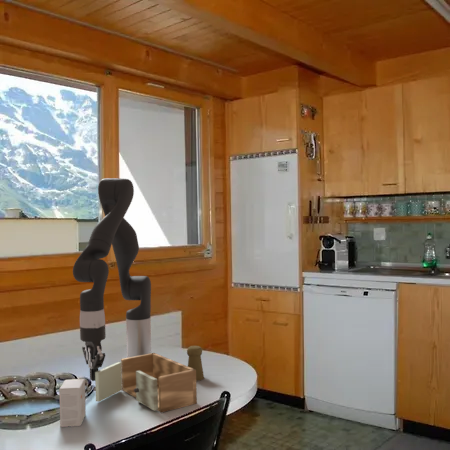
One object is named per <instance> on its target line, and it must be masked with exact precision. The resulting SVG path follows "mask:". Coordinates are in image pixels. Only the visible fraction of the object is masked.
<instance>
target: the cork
mask: <svg viewBox="0 0 450 450" xmlns="http://www.w3.org/2000/svg"><path fill="white" fill-rule="evenodd" d="M186 353H187V356H188V362H187V366H188V367H190V368H193V369H195V370H196V382H199V381H202V380H204V379H205V375H204V367H203V362H202V354H203V348H202V347H201V346H199V345H190V346H189V347H187V350H186Z"/></svg>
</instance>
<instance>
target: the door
mask: <svg viewBox="0 0 450 450" xmlns="http://www.w3.org/2000/svg"><path fill="white" fill-rule="evenodd" d="M94 382H95V385H94V387H93V389H92V390H93V391H94V392H95V402H99V403H100V402H101V401H103V400H106V399H107V398H109V397H110V396H113V395H114V394H117V393H118V392H120V391H123V390H122V373H121V361H120V362H119V361H117V362H115V363H112V364H110V365H108V366H105V367H104V368H101V369H98V371H97V372H95V381H94Z"/></svg>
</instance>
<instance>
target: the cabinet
mask: <svg viewBox="0 0 450 450" xmlns="http://www.w3.org/2000/svg"><path fill="white" fill-rule="evenodd" d="M120 362H121V378H122V390H121V391H123V392H125V393H127V394H128V395H130V396H132V397H133V398H135V399H136V401H137V402H139V403H140V404H142V405H144V406H145V407H147V408H149V409H150V410H152V411H153V412H154V411H158V412H160V413H161V414H162V413H166V412H169V411H173V410H176V409H180V408H184V407H189V406H193V405H195V404H198V401H197V400H198V398H197V397H198V395H197V394H198V392H197V381H196V370H195V369H193V368H190V367H188V365H185V364H182V363H181V362H178V361H175V360H173V359H171V358H168V357H165V356H163V355H161V354H158V353H155V352H151V353H150V354H145V355H140V356H134V357H129V358H127V357H125V358H121V359H120Z"/></svg>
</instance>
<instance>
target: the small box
mask: <svg viewBox="0 0 450 450" xmlns="http://www.w3.org/2000/svg"><path fill="white" fill-rule="evenodd" d="M58 389H59V390H58V395H59V425H60V426H59V427H60V428H68V426H71V427H81V426H82V423H83V421H84V419H85V417H86V411H87V410H86V379H85V378H78V379H77V378H74V379H64V381H63V382H62V385H61V386H60V387H59V388H58Z"/></svg>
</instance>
